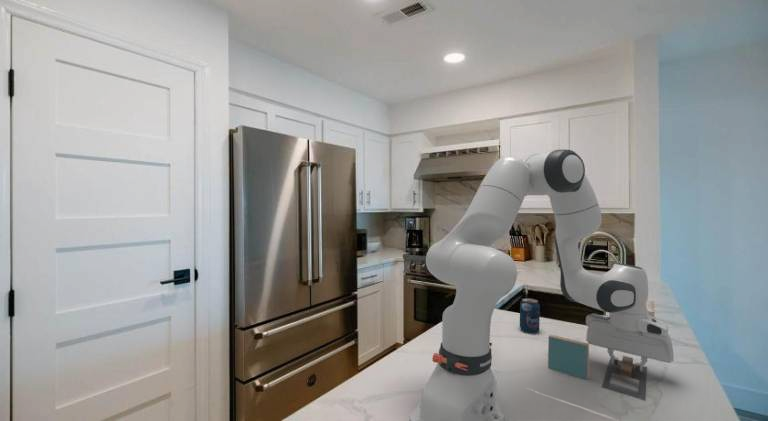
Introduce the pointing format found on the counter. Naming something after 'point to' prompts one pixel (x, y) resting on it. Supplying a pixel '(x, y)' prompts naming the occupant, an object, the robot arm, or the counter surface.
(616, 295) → the robot arm
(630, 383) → the grey panel with knob
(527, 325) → the soda can
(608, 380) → the mat
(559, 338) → the tile
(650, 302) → the chess piece
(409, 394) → the counter surface
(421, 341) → the counter surface
